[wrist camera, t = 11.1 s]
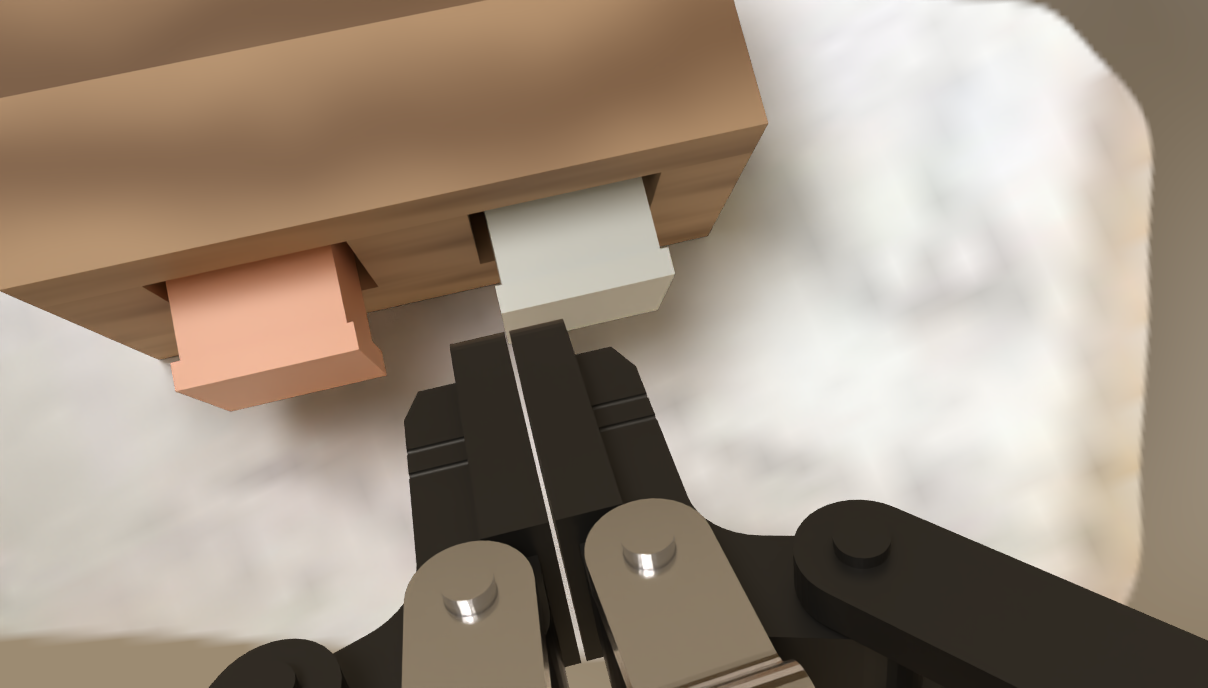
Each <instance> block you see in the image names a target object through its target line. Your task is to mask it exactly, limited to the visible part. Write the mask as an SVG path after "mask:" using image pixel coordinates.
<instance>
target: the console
mask: <svg viewBox="0 0 1208 688" xmlns="http://www.w3.org/2000/svg"><path fill="white" fill-rule="evenodd" d="M767 125H768V121H767V117H766V114H765V110H764V107H763V103H762V100H761V96H760V92H759V89H758V85H757V82H756V78H755V75H754V71H753V68H752V64H751V60H750V57H749V53H748V50H747V46H746V43H745V39H744V36H743V32H742V29H741V25H740V21H739V18H738V14H737V11H736V7H735V4H734V0H0V291H1V292H3V293H6V294H8V295H10V296H12V297H15V298H17V299H19V300H22V301H24V302H26V303H29V304H31V305H33V306H36V307H38V308H40V309H43V310H45V311H47V312H50V313H52V314H54V315H56V316H59V317H61V318H63V319H66V320H68V321H70V322H73V323H75V324H77V325H80V326H82V327H84V328H87V329H89V330H91V331H94V332H96V333H98V334H101V335H103V336H105V337H107V338H110V339H112V340H114V341H117V342H119V343H121V344H124V345H126V346H128V347H131V348H133V349H135V350H138V351H140V352H142V353H145V354H147V355H149V356H151V357H154V358H156V359H158V360H160V359H164V358H169V357H173V356H178V355H179V352H178V347H177V341H176V336H175V330H174V325H173V320H172V314H171V309H170V303H169V298H168V292H167V287H166V281H167V280H172V279H177V278H181V277H186V276H190V275H195V274H199V273H204V272H209V271H213V270H218V269H222V268H227V267H231V266H236V265H240V264H245V263H250V262H254V261H259V260H263V259H268V258H272V257H277V256H282V255H286V254H291V253H295V252H300V251H304V250H309V249H313V248H318V247H323V246H327V245H332V244H336V243H341V242H345V241H346V242H347V243H348V245H349V246H350V247H351V249H352V250H353V253H354V257H355V262H356V267H357V272H358V276H359V281H360V286H361V290H362V295H363V300H364V305H365V309H366V313H368V312H373V311H377V310H382V309H386V308H390V307H395V306H399V305H404V304H408V303H413V302H417V301H421V300H426V299H430V298H435V297H439V296H444V295H448V294H452V293H457V292H461V291H466V290H470V289H475V288H479V287H484V286H488V285H492V284H497V283H500V279H499V274H498V270H497V266H496V262H495V257H494V253H493V249H492V244H491V240H490V236H489V232H488V227H487V223H486V219H485V215H484V211H487V210H491V209H496V208H500V207H505V206H510V205H514V204H519V203H523V202H528V201H532V200H537V199H542V198H546V197H551V196H555V195H560V194H564V193H569V192H573V191H578V190H583V189H587V188H592V187H596V186H601V185H605V184H610V183H615V182H619V181H624V180H628V179H633V178H637V177H642V180H643V184H644V188H645V192H646V196H647V200H648V204H649V207H650V211H651V215H652V219H653V223H654V227H655V231H656V234H657V238H658V242H659V246H660V247H661V246H665V245H670V244H674V243H679V242H683V241H687V240H692V239H696V238H701V237H705V236H708V235H709V233H710V231H711V229H712V227H713V225H714V223H715V222H716V220H717V218H718V216H719V214H720V212H721V210H722V209H723V207H724V205H725V203H726V201H727V199H728V197H729V195H730V194H731V192H732V190H733V188H734V186H735V184H736V182H737V181H738V179H739V177H740V175H741V173H742V171H743V169H744V167H745V166H746V164H747V162H748V160H749V158H750V156H751V154H752V153H753V151H754V149H755V147H756V145H757V143H758V141H759V139H760V138H761V136H762V134H763V132H764V130H765V128H766V126H767Z"/></svg>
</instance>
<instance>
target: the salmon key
mask: <svg viewBox="0 0 1208 688" xmlns="http://www.w3.org/2000/svg"><path fill="white" fill-rule="evenodd" d="M166 287H167V292H168V298H169V303H170V309H171V314H172V320H173V325H174V330H175V336H176V341H177V347H178V352H179V358H180V361H176V362H172V363H170V364H171V369H172V375H173V380H174V386H175V391H176V392H179V393H181V394H184V395H187V396H190V397H192V398H195V399H198V400H200V401H203V402H206V403H209V404H211V405H214V406H217V407H220V408H222V409H225V410H228V411H230V412H231V411H235V410H239V409H244V408H248V407H252V406H257V405H261V404H265V403H270V402H274V401H278V400H283V399H287V398H291V397H295V396H300V395H304V394H308V393H313V392H317V391H321V390H326V389H330V388H334V387H339V386H343V385H347V384H352V383H356V382H360V381H365V380H369V379H373V378H378V377H382V376H386V375H387V374H386V369H385V364H384V360H383V355H382V351H381V350H380V349H379V348H378V347H377V346H376V345H375V344H374V343H373V342H372V337H371V333H370V328H369V323H368V319H367V314H366V309H365V305H364V300H363V295H362V290H361V286H360V281H359V276H358V272H357V267H356V262H355V257H354V253H353V250H352V249H351V247H350V246H349V245H348V243H347V242H346V241H345V242H341V243H336V244H332V245H327V246H323V247H318V248H313V249H309V250H304V251H300V252H295V253H291V254H286V255H282V256H277V257H272V258H268V259H263V260H259V261H254V262H250V263H245V264H240V265H236V266H231V267H227V268H222V269H218V270H213V271H209V272H204V273H199V274H195V275H190V276H186V277H181V278H177V279H172V280H167V281H166Z"/></svg>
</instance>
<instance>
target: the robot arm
mask: <svg viewBox="0 0 1208 688" xmlns="http://www.w3.org/2000/svg"><path fill="white" fill-rule="evenodd" d="M509 333H510V338H511V342H512V347H513V351H514V356H515V360H516V364H517V369H518V373H519V378H520V382H521V386H522V391H523V395H524V400H525V404H526V408H527V413H528V417H529V422H530V426H531V430H532V435H533V439H534V443H535V448H536V452H537V456H538V460H539V465H540V469H541V473H542V477H543V481H544V485H545V489H546V494H547V498H548V502H549V506H550V510H551V514H552V519H553V523H554V527H555V531H556V535H557V539H558V544H559V548H560V552H561V556H562V560H563V564H564V568H565V573H566V577H567V581H568V585H569V589H570V593H571V598H572V602H573V606H574V610H575V614H576V618H577V622H578V627H579V631H580V635H581V639H582V643H583V647H584V652H585V656H586V660H587V661H589V660H593V659H596V658H600V657H604V659H605V663H606V667H607V671H608V675H609V679H610V683H611V686H612V688H1208V641H1207V640H1205V639H1203V638H1200V637H1198V636H1196V635H1193V634H1191V633H1189V632H1186V631H1184V630H1181V629H1179V628H1177V627H1175V626H1172V625H1170V624H1168V623H1165V622H1163V621H1161V620H1158V619H1156V618H1154V617H1151V616H1149V615H1146V614H1144V613H1142V612H1139V611H1137V610H1135V609H1132V608H1130V607H1128V606H1125V605H1123V604H1121V603H1118V602H1116V601H1114V600H1111V599H1109V598H1107V597H1104V596H1102V595H1099V594H1097V593H1095V592H1092V591H1090V590H1088V589H1085V588H1083V587H1081V586H1078V585H1076V584H1074V583H1071V582H1069V581H1067V580H1064V579H1062V578H1060V577H1057V576H1055V575H1052V574H1050V573H1048V572H1045V571H1043V570H1041V569H1038V568H1036V567H1034V566H1031V565H1029V564H1027V563H1024V562H1022V561H1020V560H1017V559H1015V558H1013V557H1010V556H1008V555H1005V554H1003V553H1001V552H998V551H996V550H994V549H991V548H989V547H987V546H984V545H982V544H980V543H977V542H975V541H973V540H970V539H968V538H966V537H963V536H961V535H959V534H956V533H954V532H951V531H949V530H947V529H944V528H942V527H940V526H937V525H935V524H933V523H930V522H928V521H926V520H923V519H921V518H919V517H916V516H914V515H912V514H909V513H907V512H904V511H902V510H900V509H897V508H895V507H892V506H890V505H887V504H884V503H880V502H875V501H868V500H847V501H840V502H836V503H832V504H829V505H826V506H824V507H822V508H820V509H818V510H816V511H815V512H813V513H812V514H810V515H809V516H808V517H807V518H806V519H805V520H804V521H803V522H802V523H801V525H800V526H799V528H798V529H797V531H796V534H795V536H760V535H747V534H742V533H736V532H733V531H730V530H726V529H724V528H721V527H719V526H717V525H715V524H713V523H712V522H710V521H708V520H707V519H705V518H704V517H703V516H702V515H701V514H700V513H699V512H697V510H696V509H695V508H694V507H693V505H692V504H691V502H690V500H689V498H688V496H687V494H686V491H685V489H684V486H683V484H682V481H681V479H680V476H679V474H678V471H677V469H676V466H675V464H674V461H673V459H672V456H671V454H670V451H669V449H668V446H667V444H666V441H665V438H664V436H663V433H662V431H661V428H660V426H659V423H658V421H657V420H656V418H655V413H654V411H653V408H652V406H651V403H650V401H649V398H647V394H646V391H645V388H644V386H643V383H642V381H641V378H640V376H639V373H638V371H637V368H636V366H635V365H634V364H632V363H631V362H630V361H628V360H627V359H626V358H625V357H623V356H622V355H621V354H620V353H618V352H617V351H616V350H615V349H613V348H612V347H607V348H603V349H599V350H594V351H590V352H586V353H581V354H577V355H575V354H574V351H573V348H572V344H571V341H570V338H569V335H568V332H567V329H566V326H565V323H564V320H563V319H558V320H554V321H550V322H545V323H541V324H537V325H532V326H528V327H524V328H519V329H515V330H511V331H509ZM450 351H451V357H452V364H453V370H454V376H455V383H454V384H449V385H445V386H441V387H436V388H432V389H428V390H424V391H419V392H418V393H417V395H416V397H415V399H414V401H413V403H412V405H411V408H410V410H409V412H408V414H407V416H406V418H405V420H404V426H405V437H406V449H407V453H408V455H407V460H408V471H409V476H410V479H409V483H410V494H411V506H412V517H413V528H414V540H415V551H416V563H417V570H416V573H415V574H414V576H413V577H412V579H411V581H410V582H409V584H408V587H407V590H406V593H405V598H404V604H403V605H402V606H401V607H400V609H399V610H398V611H397V612H396V613H395V614H394V615H393V616H392V617H391V618H390V619H389V620H388V621H387V622H386V623H384V624H383V625H382V626H380V627H379V628H378V629H376V630H375V631H373V632H371V633H370V634H368V635H366V636H365V637H363V638H361V639H359V640H357V641H355V642H354V643H352V644H350V645H348V646H346V647H344V648H343V649H341V650H339V651H337V652H335V653H333V654H332V653H331V652H330V651H329V650H328V649H327V648H325V647H324V646H322V645H320V644H318V643H316V642H313V641H309V640H305V639H284V640H279V641H274V642H270V643H267V644H265V645H262V646H259V647H257V648H255V649H253V650H251V651H249V652H247V653H246V654H244V655H243V656H241V657H239V658H238V659H237V660H235V661H234V662H233V663H232V664H230V665H229V666H228V667H227V668H226V669H225V670H224V671H223V672H222V673H221V674H220V675H219V676H218V677H217V679H216V680H215V681H214V682H213V683H212V684H211V685H210V687H209V688H569V685H568V681H567V676H566V671H565V667H567V666H571V665H575V664H579V663H581V660H580V655H579V651H578V647H577V642H576V638H575V634H574V629H573V625H572V621H571V616H570V612H569V608H568V603H567V599H566V594H565V590H564V586H563V581H562V577H561V573H560V568H559V564H558V560H557V555H556V551H555V547H554V542H553V538H552V534H551V529H550V525H549V521H548V516H547V512H546V508H545V504H544V499H543V495H542V491H541V487H540V482H539V478H538V474H537V470H536V465H535V461H534V457H533V453H532V449H531V444H530V440H529V436H528V432H527V427H526V423H525V419H524V415H523V410H522V406H521V402H520V398H519V393H518V389H517V385H516V381H515V376H514V372H513V368H512V364H511V359H510V355H509V351H508V347H507V342H506V338H505V334H504V332H503V333H498V334H494V335H490V336H485V337H481V338H477V339H472V340H468V341H464V342H459V343H455V344H450Z"/></svg>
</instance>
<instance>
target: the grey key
mask: <svg viewBox="0 0 1208 688" xmlns="http://www.w3.org/2000/svg"><path fill="white" fill-rule="evenodd" d="M484 215H485V219H486V223H487V227H488V232H489V236H490V240H491V244H492V249H493V253H494V257H495V262H496V266H497V270H498V274H499V279H500V283H501V285H498V286H495V288H496V293H497V297H498V301H499V306H500V310H501V314H502V319H503V323H504V327H505V332H506V336H507V340H508V344H512V342H511V338H510V333H509V331H511V330H515V329H519V328H524V327H528V326H532V325H537V324H541V323H545V322H550V321H554V320H558V319H563V320H564V323H565V326H566V329H567V331H569V330H573V329H577V328H582V327H586V326H590V325H595V324H599V323H603V322H608V321H612V320H616V319H621V318H625V317H629V316H634V315H638V314H642V313H647V312H651V311H655V310H658V308H659V306H660V304H661V302H662V300H663V298H664V296H665V294H666V292H667V290H668V288H669V286H670V284H671V282H672V280H673V277H674V275H675V271H674V267H673V263H672V260H671V256H670V252H669V248H668V247H666V248H662V249H660V246H659V242H658V238H657V234H656V231H655V227H654V223H653V219H652V215H651V211H650V207H649V204H648V200H647V196H646V192H645V188H644V184H643V180H642V177H637V178H633V179H628V180H624V181H619V182H615V183H610V184H605V185H601V186H596V187H592V188H587V189H583V190H578V191H573V192H569V193H564V194H560V195H555V196H551V197H546V198H542V199H537V200H532V201H528V202H523V203H519V204H514V205H510V206H505V207H500V208H496V209H491V210H487V211H484Z"/></svg>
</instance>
